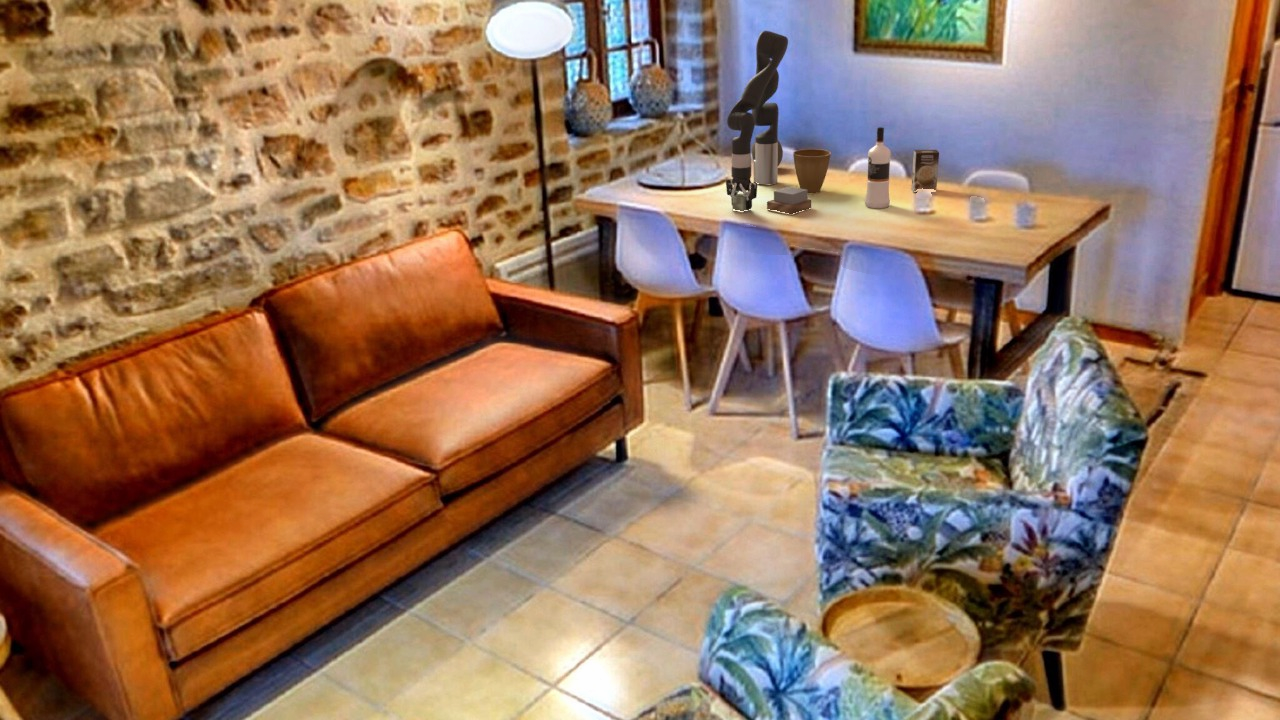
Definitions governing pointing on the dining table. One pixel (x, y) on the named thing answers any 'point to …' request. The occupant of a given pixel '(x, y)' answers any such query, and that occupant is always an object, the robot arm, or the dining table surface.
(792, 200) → the tower upper block
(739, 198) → the sage block
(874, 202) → the vodka
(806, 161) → the plant pot
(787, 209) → the tower lower block
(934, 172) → the coffee box
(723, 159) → the dining table surface
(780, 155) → the grey curved pieces
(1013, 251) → the dining table surface
